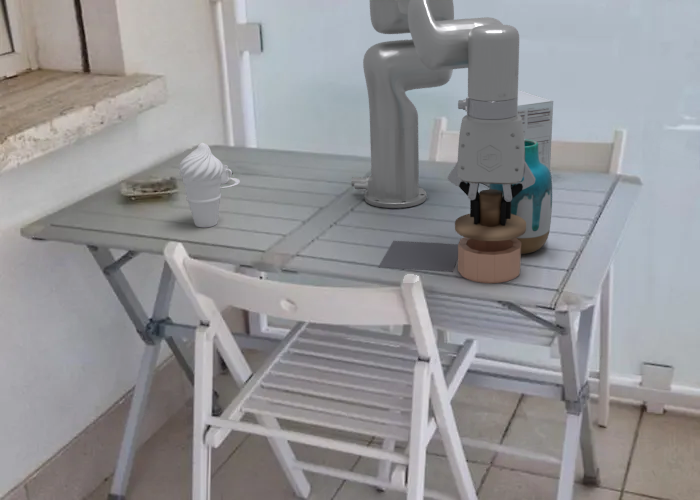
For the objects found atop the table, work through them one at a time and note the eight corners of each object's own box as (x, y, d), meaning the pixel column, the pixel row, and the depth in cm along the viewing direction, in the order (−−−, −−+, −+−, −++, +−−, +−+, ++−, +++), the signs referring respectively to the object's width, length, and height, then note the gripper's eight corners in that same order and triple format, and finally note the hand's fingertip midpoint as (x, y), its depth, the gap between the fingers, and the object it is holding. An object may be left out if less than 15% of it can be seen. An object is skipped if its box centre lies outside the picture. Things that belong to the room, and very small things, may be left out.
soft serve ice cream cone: (192, 234, 176) (184, 151, 170) (178, 221, 183) (170, 141, 177) (234, 226, 179) (227, 144, 174) (219, 214, 186) (212, 135, 181)
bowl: (454, 284, 150) (454, 252, 148) (463, 261, 159) (463, 231, 157) (517, 288, 148) (518, 256, 146) (522, 264, 156) (523, 234, 154)
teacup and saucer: (194, 184, 207) (192, 166, 206) (224, 176, 212) (222, 159, 211) (217, 192, 201) (215, 174, 200) (247, 184, 206) (245, 166, 205)
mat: (378, 270, 157) (378, 266, 156) (393, 243, 168) (393, 240, 167) (452, 274, 154) (452, 271, 153) (463, 247, 165) (463, 244, 164)
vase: (481, 241, 167) (483, 136, 160) (540, 238, 168) (544, 133, 161) (495, 264, 157) (497, 153, 150) (557, 260, 158) (562, 149, 151)
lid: (450, 239, 146) (450, 202, 144) (460, 215, 157) (460, 181, 154) (522, 242, 144) (524, 205, 142) (528, 218, 154) (529, 183, 152)
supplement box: (551, 182, 198) (555, 100, 192) (497, 192, 193) (499, 108, 187) (517, 167, 209) (520, 89, 203) (465, 175, 205) (466, 96, 199)
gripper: (434, 112, 142) (434, 227, 148) (546, 115, 138) (542, 232, 144) (442, 102, 149) (442, 212, 155) (549, 104, 145) (544, 217, 151)
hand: (490, 221), depth 150 cm, fingers closed on lid, 3 cm apart
